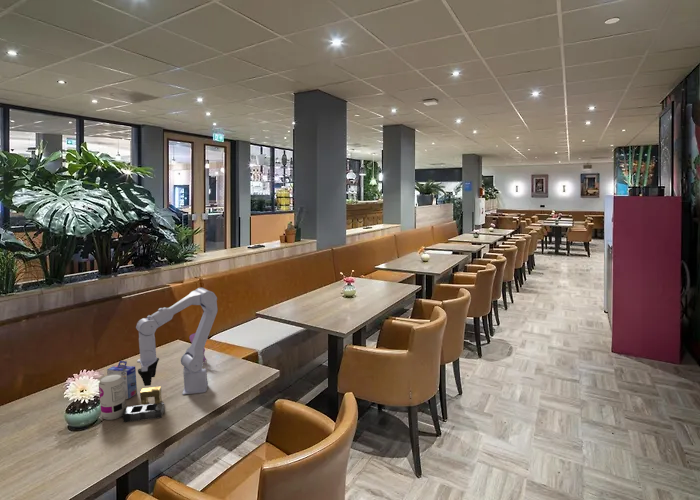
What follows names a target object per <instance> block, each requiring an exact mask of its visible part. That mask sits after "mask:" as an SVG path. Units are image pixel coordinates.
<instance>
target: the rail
mask: <svg viewBox="0 0 700 500" xmlns="http://www.w3.org/2000/svg"><path fill="white" fill-rule="evenodd" d="M164 412H165V402H163V401H162V402H161V403H155V402H154V403H147V404H145V405H141V404H138V405H130V406H129V405H128V406H126V410H125V412H124V414H123V415H122V419H123V423H127V422H128V423H130V422H138V421H144V420H152V419H153V420H155V419H161V418H163V414H164Z"/></svg>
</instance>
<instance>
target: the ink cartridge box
mask: <svg viewBox="0 0 700 500" xmlns="http://www.w3.org/2000/svg"><path fill="white" fill-rule="evenodd" d="M106 373H107V375H111V374H120V375H121V376H122V377H123V379H124V390H125V400H129V399H131V398H132V397H134V396H136V395H137V394H138V388H137V371H136V366H135V365H134V366H131V365H128V361H124V360H119V362H118V364H115V365H113V366H111V367H110V368H107V369H106ZM107 375H106V376H107Z"/></svg>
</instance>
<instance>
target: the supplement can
mask: <svg viewBox="0 0 700 500" xmlns="http://www.w3.org/2000/svg"><path fill="white" fill-rule="evenodd" d="M98 392H99V404H100V405H99V406H100V415H101V418H102V419H104V420H105V421H106V420H107V421H113V420H117V419H119V418H121V417H123V414H124V412H125V410H126V408H127V406H126V399H125V390H124V379H123V377H122V376H121V375H120V374H111V375H105V376H103V377H100V381H99V382H98Z"/></svg>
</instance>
